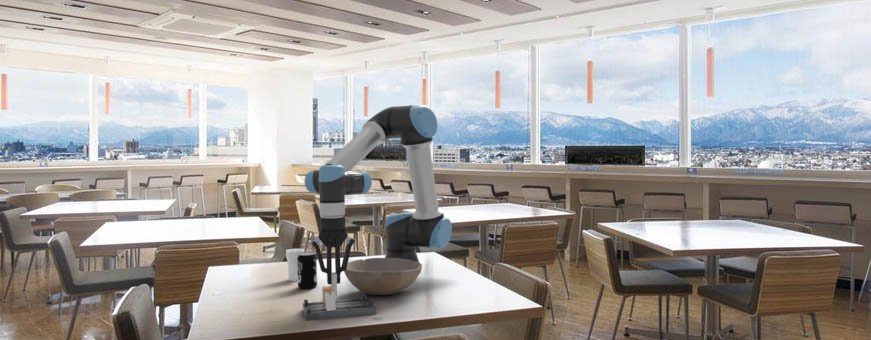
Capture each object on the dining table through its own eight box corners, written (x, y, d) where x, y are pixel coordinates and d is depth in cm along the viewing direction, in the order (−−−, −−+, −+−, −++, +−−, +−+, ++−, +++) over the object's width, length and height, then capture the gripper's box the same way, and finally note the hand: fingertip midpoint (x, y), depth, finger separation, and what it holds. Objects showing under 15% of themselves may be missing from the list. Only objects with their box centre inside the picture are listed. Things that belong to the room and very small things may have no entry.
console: (368, 304, 185) (368, 293, 184) (376, 314, 173) (376, 303, 173) (302, 309, 179) (302, 299, 179) (306, 320, 167) (306, 309, 167)
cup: (291, 282, 217) (291, 252, 217) (283, 279, 222) (282, 250, 222) (308, 279, 222) (307, 250, 221) (299, 276, 227) (298, 248, 226)
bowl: (403, 281, 216) (402, 254, 216) (436, 297, 192) (435, 266, 192) (332, 290, 204) (332, 261, 204) (358, 307, 181) (358, 274, 180)
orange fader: (330, 300, 181) (330, 285, 181) (332, 303, 177) (332, 288, 177) (322, 301, 180) (322, 286, 180) (324, 304, 177) (323, 288, 177)
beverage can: (312, 289, 205) (311, 255, 204) (294, 289, 206) (293, 254, 206) (320, 285, 211) (319, 251, 211) (302, 285, 212) (301, 251, 212)
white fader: (333, 307, 173) (333, 291, 173) (335, 310, 170) (335, 294, 170) (325, 307, 172) (324, 292, 172) (326, 311, 169) (326, 294, 169)
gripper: (352, 214, 184) (353, 290, 185) (309, 216, 180) (310, 293, 181) (356, 216, 177) (357, 295, 178) (311, 218, 173) (313, 299, 174)
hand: (334, 294), depth 179 cm, fingers closed
